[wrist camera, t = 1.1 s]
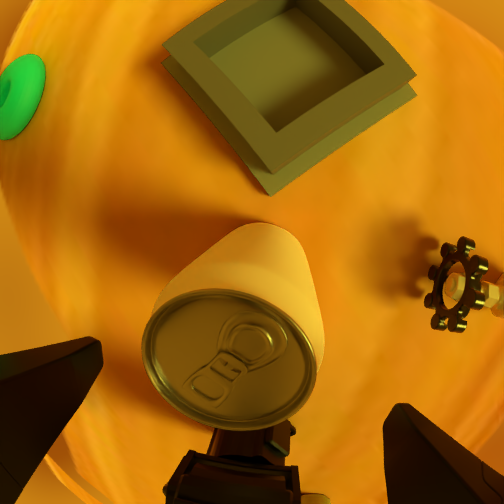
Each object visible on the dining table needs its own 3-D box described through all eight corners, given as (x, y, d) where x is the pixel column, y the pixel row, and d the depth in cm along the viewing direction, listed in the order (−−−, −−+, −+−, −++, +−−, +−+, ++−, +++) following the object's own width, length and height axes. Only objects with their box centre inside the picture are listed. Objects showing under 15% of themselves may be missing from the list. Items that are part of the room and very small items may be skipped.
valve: (523, 261, 16) (440, 228, 17) (566, 282, 10) (492, 246, 11) (500, 325, 18) (414, 309, 19) (537, 356, 12) (452, 352, 13)
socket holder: (271, 196, 18) (267, 198, 14) (166, 67, 17) (142, 47, 13) (411, 99, 15) (436, 82, 12) (298, -15, 14) (299, -44, 10)
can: (326, 259, 19) (375, 358, 7) (269, 326, 20) (248, 457, 9) (250, 201, 19) (190, 224, 7) (198, 274, 20) (106, 368, 9)
